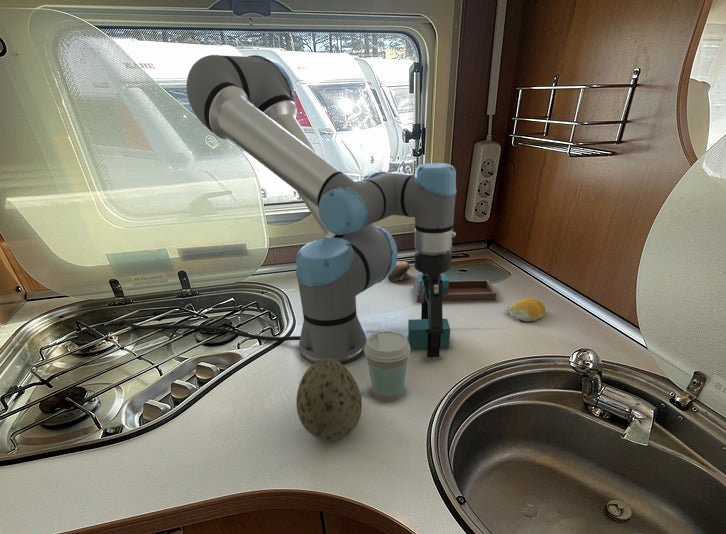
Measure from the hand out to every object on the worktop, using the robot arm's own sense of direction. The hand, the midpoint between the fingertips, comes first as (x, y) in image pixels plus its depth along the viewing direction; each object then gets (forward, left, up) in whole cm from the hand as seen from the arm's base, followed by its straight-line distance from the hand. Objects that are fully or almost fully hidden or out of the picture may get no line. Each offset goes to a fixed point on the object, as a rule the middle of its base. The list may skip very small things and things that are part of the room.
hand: (429, 341), depth 98 cm
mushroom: (-5, +38, -1) cm, 39 cm away
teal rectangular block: (0, 0, -1) cm, 1 cm away
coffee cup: (-10, -19, -1) cm, 21 cm away
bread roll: (+27, +13, -1) cm, 30 cm away
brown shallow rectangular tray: (+10, +26, -1) cm, 28 cm away
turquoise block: (+4, +26, 0) cm, 26 cm away
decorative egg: (-20, -30, -1) cm, 36 cm away
